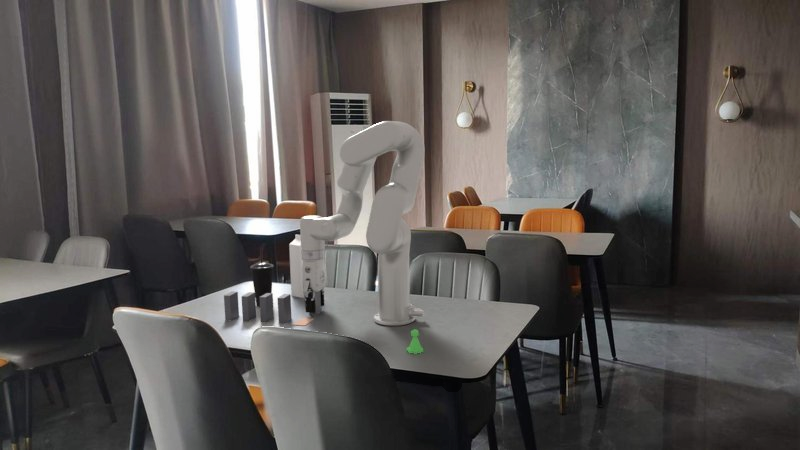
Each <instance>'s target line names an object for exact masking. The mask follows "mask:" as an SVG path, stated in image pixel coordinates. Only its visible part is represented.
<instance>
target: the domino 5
mask: <svg viewBox="0 0 800 450" xmlns="http://www.w3.org/2000/svg"><path fill="white" fill-rule="evenodd" d="M311 290H313V289H311ZM310 294H311V296H312V293H310ZM314 300H315V304H316V312H315V313H309V316H317V315H318V314H319V313H321V312H322V306H321V292H320V291H318V292H315V297H314Z"/></svg>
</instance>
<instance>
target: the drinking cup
mask: <svg viewBox="0 0 800 450" xmlns="http://www.w3.org/2000/svg"><path fill="white" fill-rule="evenodd" d="M259 251H260V252H259V253H260V254H259V255H260V261H259V262H256V263H254V264H252V265H250V269H251V275H252V282H253V283H252V284H253V291H254V293H255V302H256V308H257V307H259V308H260V299H259V297H260V296H262V295H264V294H266V293H273V271H274V264H272V263H269V262H266V261H263V259H264V258H263V247H262V246H260V247H259Z"/></svg>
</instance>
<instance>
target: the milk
mask: <svg viewBox="0 0 800 450" xmlns="http://www.w3.org/2000/svg"><path fill="white" fill-rule="evenodd" d="M288 247H289V248H288V249H289V250H288V251H289V267H290V268H289V269H290V270H289V271H290V290H291V291H290V295H291V296H292V297H296V298H299V299H305V297H304V293H303V279H302V274H303V260H301V235H300V234H295V238H294V239H293V240H292V241H291V242H290V243H289V244H288ZM309 290H311V289H309Z"/></svg>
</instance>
